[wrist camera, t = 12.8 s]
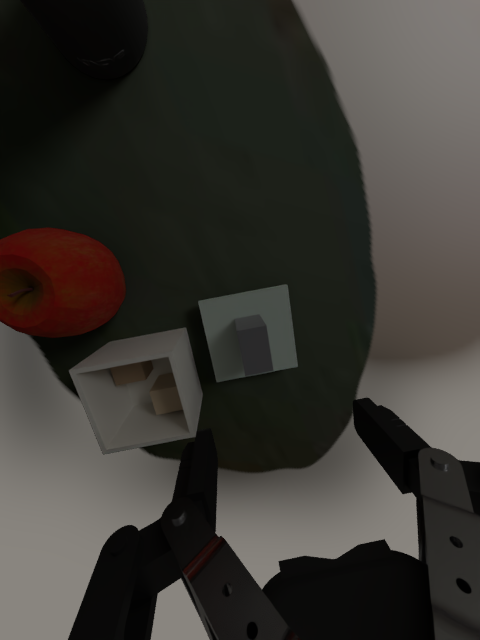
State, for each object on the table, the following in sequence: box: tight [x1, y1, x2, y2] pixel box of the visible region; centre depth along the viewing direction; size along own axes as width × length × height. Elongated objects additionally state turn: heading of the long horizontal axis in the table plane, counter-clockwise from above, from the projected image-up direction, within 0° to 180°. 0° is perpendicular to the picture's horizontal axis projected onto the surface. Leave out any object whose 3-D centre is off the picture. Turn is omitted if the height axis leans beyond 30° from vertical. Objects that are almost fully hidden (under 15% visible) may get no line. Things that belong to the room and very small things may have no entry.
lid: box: [198, 284, 298, 382], centre depth 27 cm, size 11×11×7 cm
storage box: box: [69, 328, 203, 454], centre depth 27 cm, size 10×10×8 cm
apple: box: [0, 228, 126, 338], centre depth 23 cm, size 11×11×11 cm
